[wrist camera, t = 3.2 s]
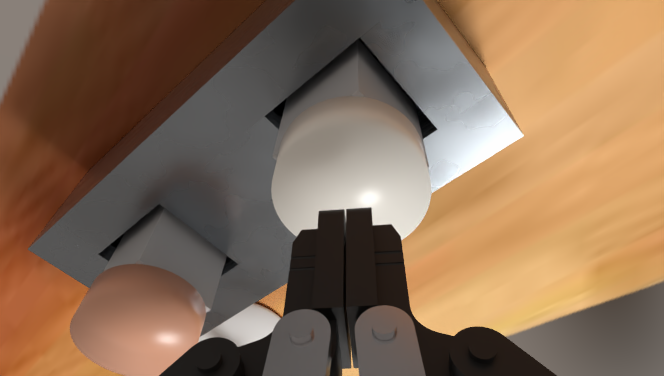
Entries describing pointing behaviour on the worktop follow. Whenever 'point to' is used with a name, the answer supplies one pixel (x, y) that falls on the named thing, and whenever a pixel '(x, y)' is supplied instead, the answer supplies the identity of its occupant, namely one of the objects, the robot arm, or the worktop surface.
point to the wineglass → (246, 326)
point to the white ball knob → (350, 148)
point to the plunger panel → (271, 137)
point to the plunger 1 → (149, 297)
